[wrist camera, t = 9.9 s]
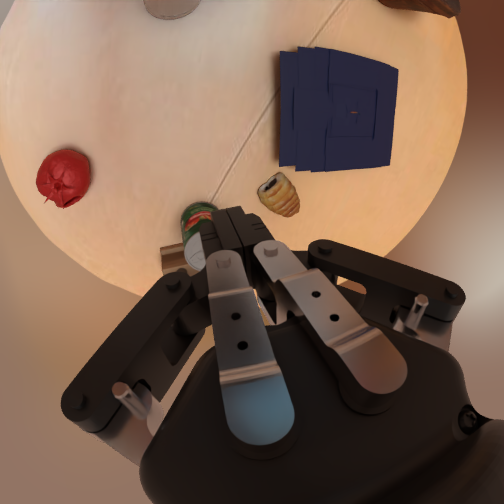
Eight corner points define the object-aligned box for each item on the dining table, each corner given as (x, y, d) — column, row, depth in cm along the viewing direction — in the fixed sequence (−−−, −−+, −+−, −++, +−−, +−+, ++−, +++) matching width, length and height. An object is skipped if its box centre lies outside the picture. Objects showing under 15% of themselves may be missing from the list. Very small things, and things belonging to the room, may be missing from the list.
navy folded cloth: (271, 42, 35) (282, 39, 32) (389, 67, 44) (401, 68, 42) (271, 172, 49) (281, 178, 46) (381, 163, 58) (392, 167, 55)
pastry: (304, 199, 56) (312, 207, 52) (280, 221, 57) (287, 230, 54) (278, 168, 50) (285, 174, 47) (252, 192, 51) (257, 199, 48)
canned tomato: (209, 193, 49) (219, 220, 40) (228, 225, 54) (242, 256, 45) (172, 215, 49) (174, 246, 40) (193, 245, 54) (200, 279, 45)
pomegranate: (50, 142, 34) (27, 155, 27) (99, 149, 38) (83, 162, 31) (45, 194, 38) (25, 216, 31) (91, 201, 43) (77, 225, 35)
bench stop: (160, 247, 52) (160, 275, 45) (248, 228, 55) (261, 253, 48) (169, 278, 57) (172, 308, 49) (250, 260, 60) (263, 286, 53)
